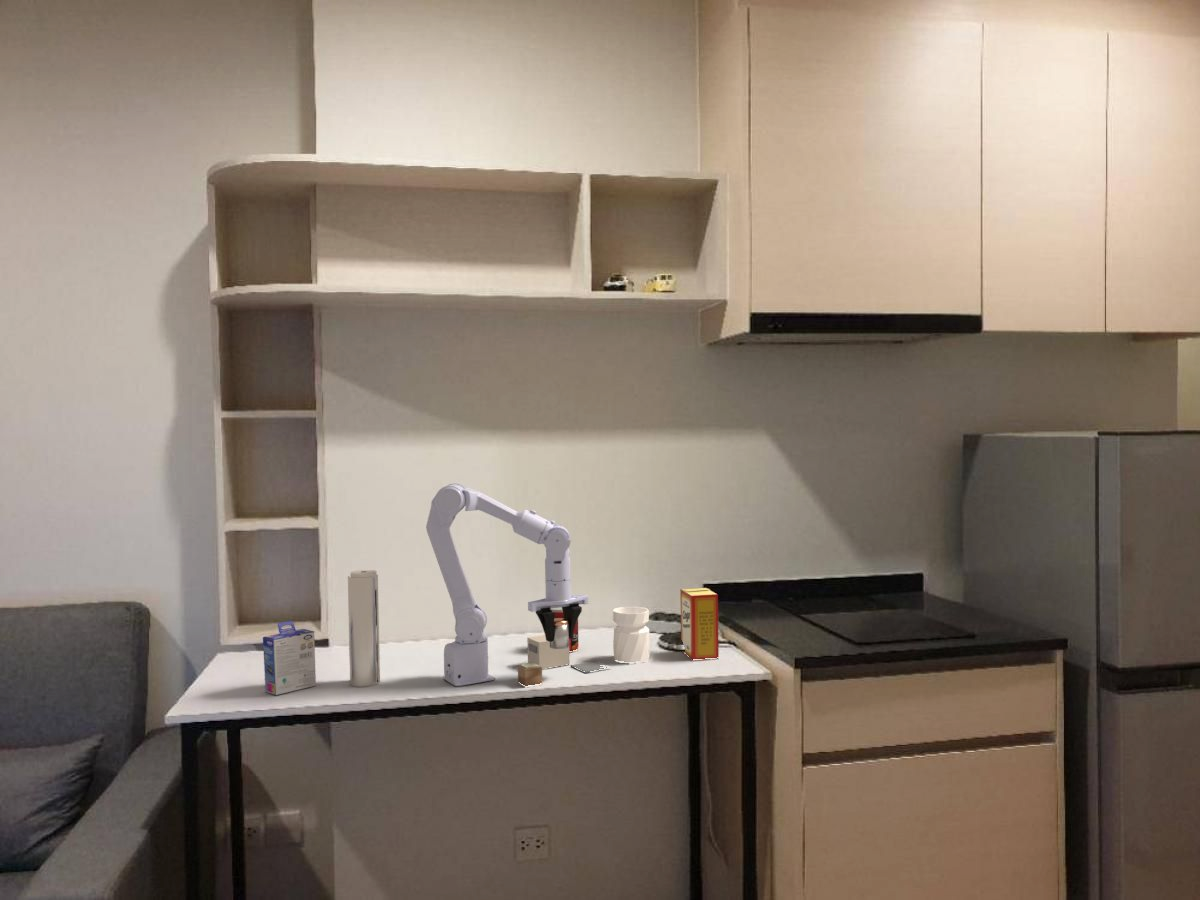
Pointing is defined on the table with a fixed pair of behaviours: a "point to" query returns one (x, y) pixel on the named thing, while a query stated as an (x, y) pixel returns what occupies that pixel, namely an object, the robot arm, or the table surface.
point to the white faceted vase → (631, 634)
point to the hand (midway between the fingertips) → (559, 639)
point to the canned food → (574, 641)
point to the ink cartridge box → (289, 660)
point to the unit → (546, 653)
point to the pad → (589, 666)
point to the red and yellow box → (699, 623)
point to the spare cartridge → (560, 634)
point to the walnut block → (529, 674)
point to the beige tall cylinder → (363, 628)
